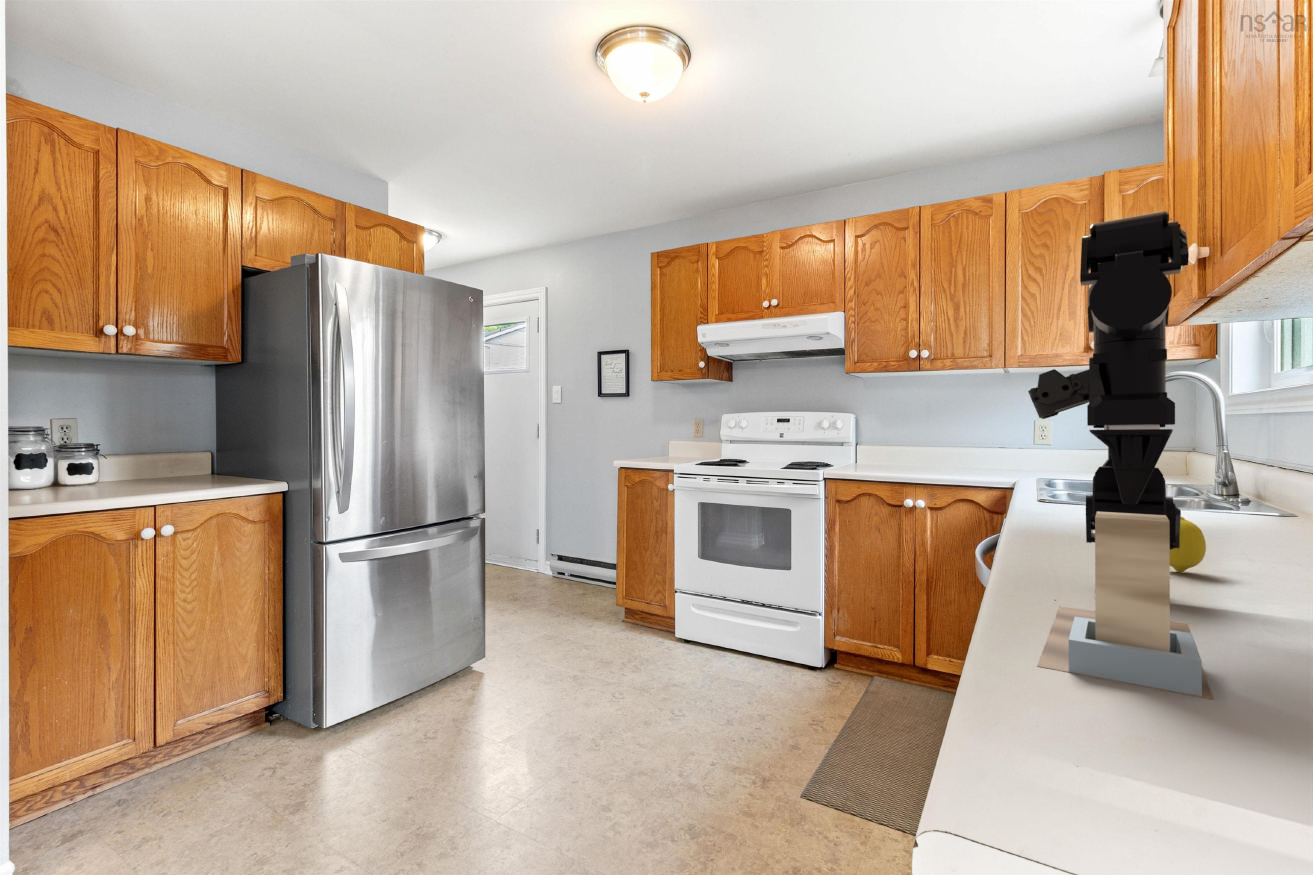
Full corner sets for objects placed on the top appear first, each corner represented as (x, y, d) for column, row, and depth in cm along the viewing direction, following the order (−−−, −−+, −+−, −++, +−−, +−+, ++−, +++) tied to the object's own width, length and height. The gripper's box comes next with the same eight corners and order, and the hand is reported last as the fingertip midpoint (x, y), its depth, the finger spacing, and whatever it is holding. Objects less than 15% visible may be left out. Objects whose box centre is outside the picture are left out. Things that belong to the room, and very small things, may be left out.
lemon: (1155, 566, 92) (1155, 513, 92) (1204, 571, 89) (1204, 516, 89) (1155, 573, 88) (1154, 516, 88) (1207, 578, 85) (1206, 520, 85)
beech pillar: (1097, 653, 52) (1096, 511, 52) (1166, 665, 49) (1165, 515, 49) (1095, 669, 49) (1095, 516, 49) (1170, 683, 46) (1169, 521, 46)
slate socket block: (1074, 644, 54) (1074, 616, 54) (1191, 664, 50) (1191, 633, 50) (1068, 671, 48) (1068, 639, 48) (1201, 696, 43) (1201, 660, 44)
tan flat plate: (1059, 615, 67) (1059, 606, 67) (1187, 633, 61) (1187, 623, 61) (1037, 678, 49) (1037, 665, 49) (1213, 713, 43) (1213, 699, 43)
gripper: (1043, 359, 74) (1043, 490, 74) (1023, 339, 59) (1023, 502, 59) (1163, 351, 67) (1163, 495, 67) (1175, 327, 52) (1175, 510, 52)
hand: (1129, 500), depth 62 cm, fingers open, 9 cm apart
